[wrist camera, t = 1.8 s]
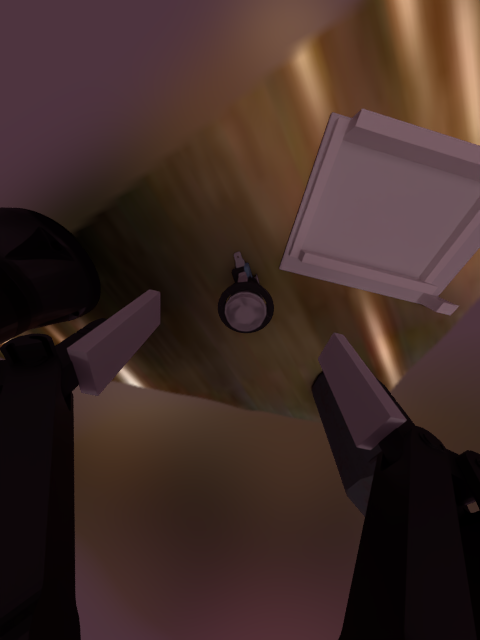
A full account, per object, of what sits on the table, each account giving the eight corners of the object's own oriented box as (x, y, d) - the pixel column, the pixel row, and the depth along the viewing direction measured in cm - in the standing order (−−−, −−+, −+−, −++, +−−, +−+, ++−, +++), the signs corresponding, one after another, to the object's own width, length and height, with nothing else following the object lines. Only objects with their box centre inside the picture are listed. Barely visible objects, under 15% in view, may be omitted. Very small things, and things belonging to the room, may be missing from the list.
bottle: (318, 405, 38) (461, 820, 12) (304, 374, 34) (480, 914, 8) (372, 393, 35) (710, 898, 9) (364, 357, 31) (950, 1108, 5)
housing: (278, 268, 24) (282, 275, 21) (330, 114, 17) (347, 93, 14) (427, 305, 25) (449, 316, 23) (534, 177, 18) (588, 170, 15)
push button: (218, 258, 24) (200, 283, 15) (258, 244, 23) (262, 263, 14) (235, 302, 27) (228, 344, 18) (271, 292, 26) (280, 331, 17)
